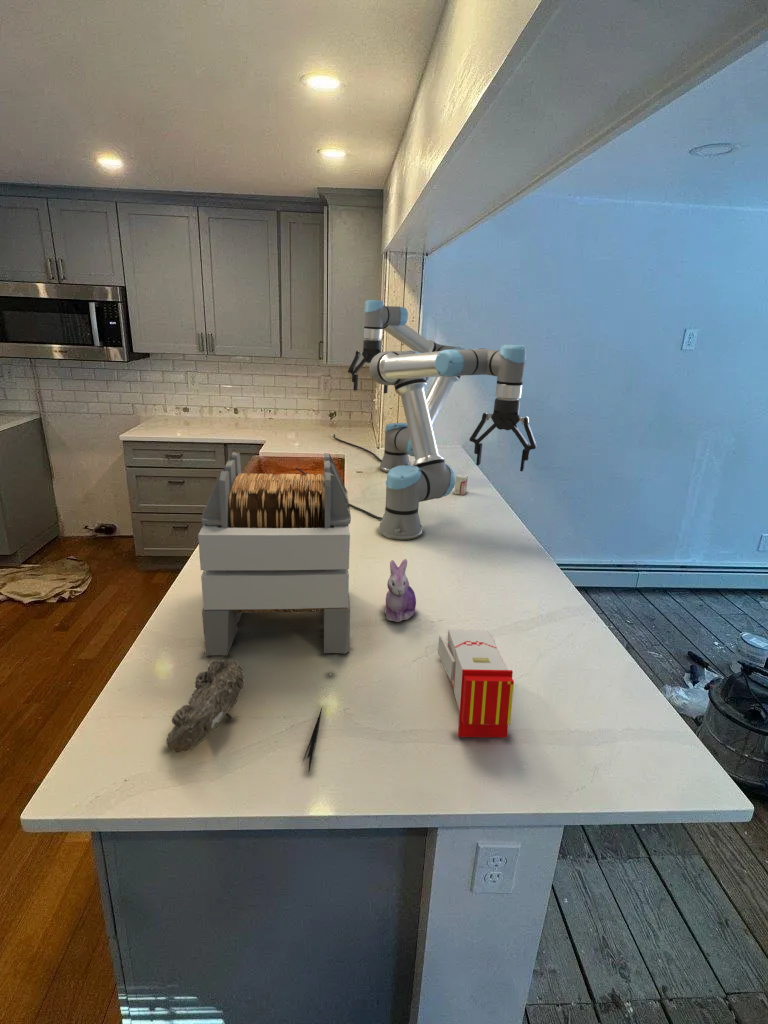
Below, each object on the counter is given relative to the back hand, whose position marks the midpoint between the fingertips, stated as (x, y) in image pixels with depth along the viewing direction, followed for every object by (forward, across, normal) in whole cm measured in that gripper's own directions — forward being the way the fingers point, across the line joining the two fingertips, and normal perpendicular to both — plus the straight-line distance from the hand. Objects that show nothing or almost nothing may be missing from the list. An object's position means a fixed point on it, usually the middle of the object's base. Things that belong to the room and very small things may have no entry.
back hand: (370, 391), depth 242 cm
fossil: (+42, -25, +156) cm, 164 cm away
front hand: (+11, -64, +57) cm, 86 cm away
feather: (+42, -44, +150) cm, 162 cm away
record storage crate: (+41, -20, +119) cm, 127 cm away
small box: (+41, -42, -4) cm, 59 cm away
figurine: (+41, -47, +106) cm, 123 cm away
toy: (+41, -70, +131) cm, 154 cm away
